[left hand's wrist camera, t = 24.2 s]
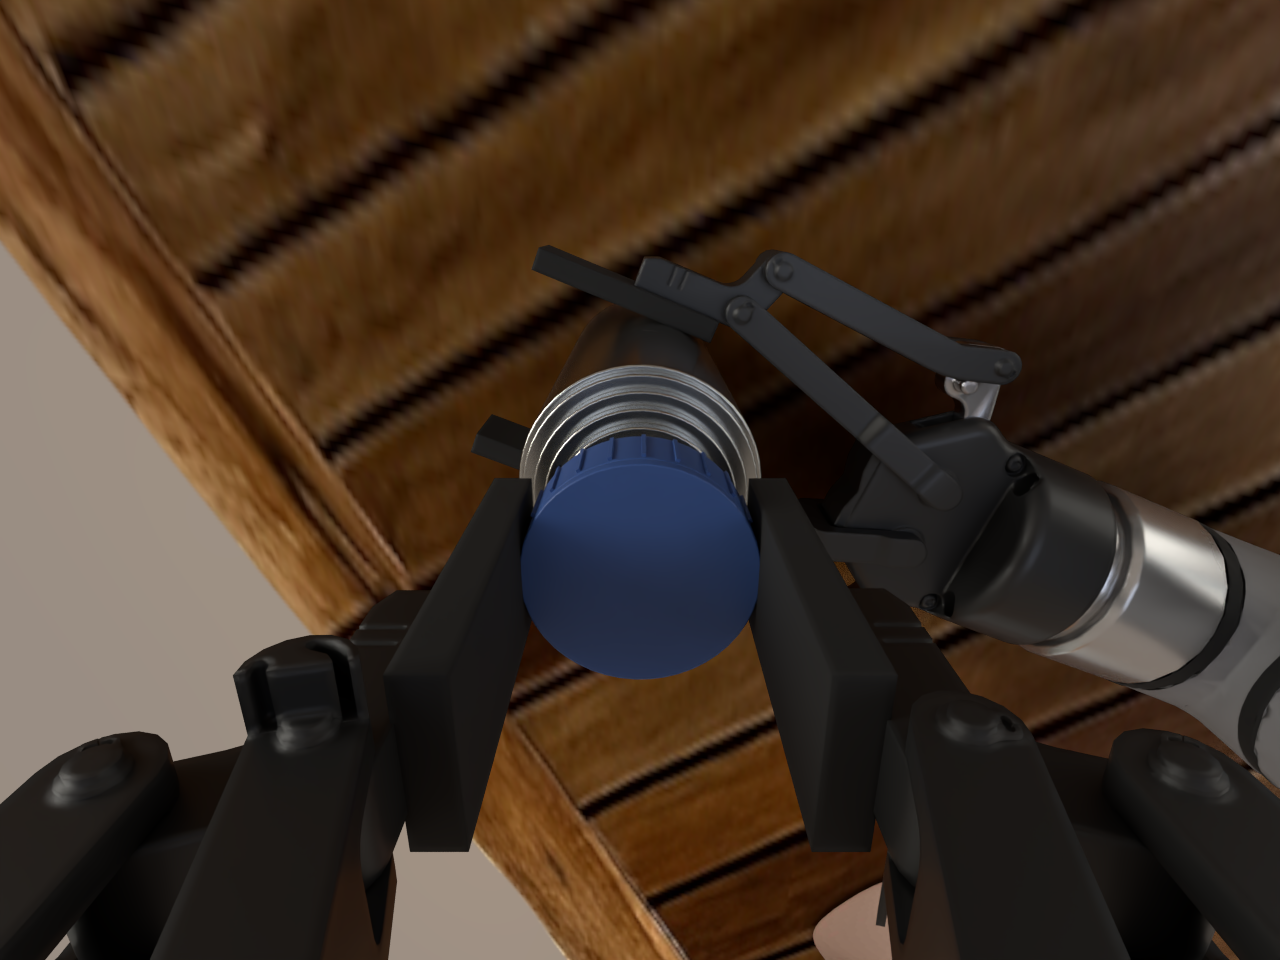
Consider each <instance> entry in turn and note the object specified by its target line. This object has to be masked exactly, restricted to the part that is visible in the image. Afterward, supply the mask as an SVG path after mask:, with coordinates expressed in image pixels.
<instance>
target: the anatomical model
mask: <svg viewBox="0 0 1280 960" xmlns="http://www.w3.org/2000/svg"><path fill="white" fill-rule="evenodd" d="M881 887H882V882H881V883H879V884H876V885H874V886H872V887H870V888H868V889H866V890H864V891H862V892H860V893H858V894H857V895H855V896H853V897H852V898H850V899H848V900H847V901H845V902H844V903H842V904H841V905H839V906H838V907H836V908H835V909H834V910H832V911H831V912H830V913H829V914H827V915H826V916H825V917H824V918H823V919H822V920H821V921H820V922H819V923H818V924H817V926H816V927H815V929H814V932H813V939H814V942H815V945H816V947H817V948H818V950H819V952H820V953H821V955H822V956H823V957H824V958H825V960H892V954H891V945H890V937H889V928H888V919H887V918H886V924H885V927H882V926H877V925H876V919H877V911H878V905H879V899H880V893H881Z"/></svg>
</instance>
